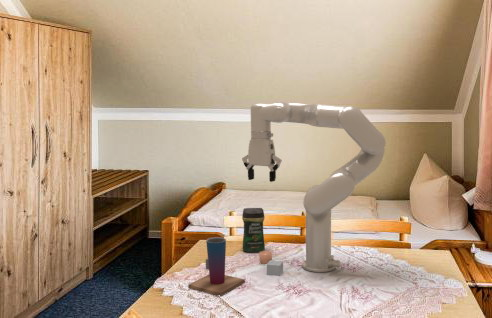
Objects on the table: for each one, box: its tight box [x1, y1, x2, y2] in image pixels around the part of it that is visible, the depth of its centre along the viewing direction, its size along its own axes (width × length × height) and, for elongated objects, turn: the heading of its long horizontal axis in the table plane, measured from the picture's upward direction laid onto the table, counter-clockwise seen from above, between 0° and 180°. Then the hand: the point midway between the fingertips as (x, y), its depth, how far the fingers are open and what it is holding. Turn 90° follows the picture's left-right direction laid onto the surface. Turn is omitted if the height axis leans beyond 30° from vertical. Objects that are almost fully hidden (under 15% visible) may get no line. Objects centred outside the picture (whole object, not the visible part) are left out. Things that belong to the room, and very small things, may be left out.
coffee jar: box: [241, 207, 266, 253], centre depth 202 cm, size 10×8×19 cm
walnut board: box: [187, 274, 246, 297], centre depth 164 cm, size 14×14×1 cm
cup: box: [205, 236, 227, 285], centre depth 163 cm, size 7×7×15 cm
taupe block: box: [205, 258, 209, 270], centre depth 181 cm, size 6×4×4 cm, turn 63°
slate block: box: [266, 259, 284, 277], centre depth 175 cm, size 5×5×4 cm
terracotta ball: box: [258, 250, 273, 265], centre depth 186 cm, size 5×5×4 cm
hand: (261, 180), depth 181 cm, fingers open, 9 cm apart
